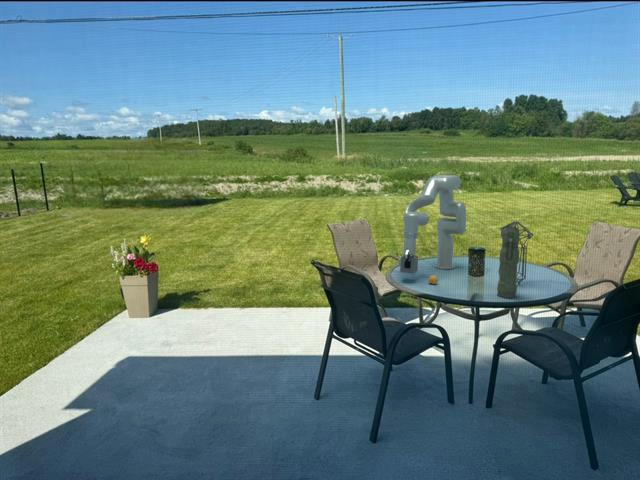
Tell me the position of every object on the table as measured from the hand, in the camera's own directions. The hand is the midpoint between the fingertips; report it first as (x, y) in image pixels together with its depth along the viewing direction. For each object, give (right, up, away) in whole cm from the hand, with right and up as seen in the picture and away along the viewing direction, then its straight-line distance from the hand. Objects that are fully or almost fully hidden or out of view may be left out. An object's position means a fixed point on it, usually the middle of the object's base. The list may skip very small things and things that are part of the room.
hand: (409, 266), depth 253 cm
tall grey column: (+44, -14, -25) cm, 53 cm away
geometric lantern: (+56, -10, -3) cm, 57 cm away
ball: (+12, -7, -4) cm, 15 cm away
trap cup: (0, -3, +1) cm, 3 cm away
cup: (+4, -4, +29) cm, 29 cm away
